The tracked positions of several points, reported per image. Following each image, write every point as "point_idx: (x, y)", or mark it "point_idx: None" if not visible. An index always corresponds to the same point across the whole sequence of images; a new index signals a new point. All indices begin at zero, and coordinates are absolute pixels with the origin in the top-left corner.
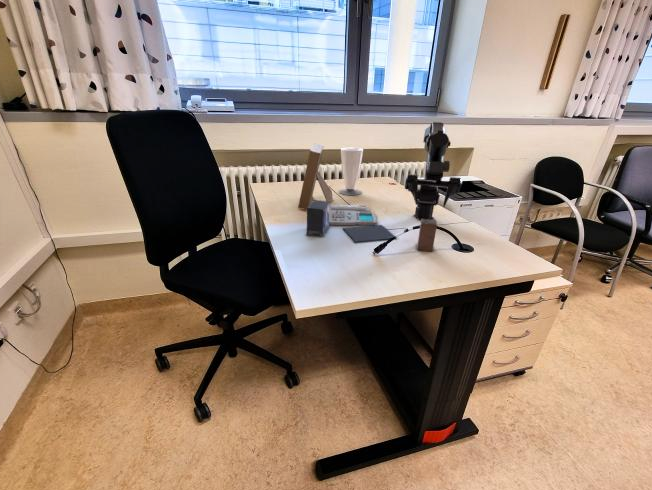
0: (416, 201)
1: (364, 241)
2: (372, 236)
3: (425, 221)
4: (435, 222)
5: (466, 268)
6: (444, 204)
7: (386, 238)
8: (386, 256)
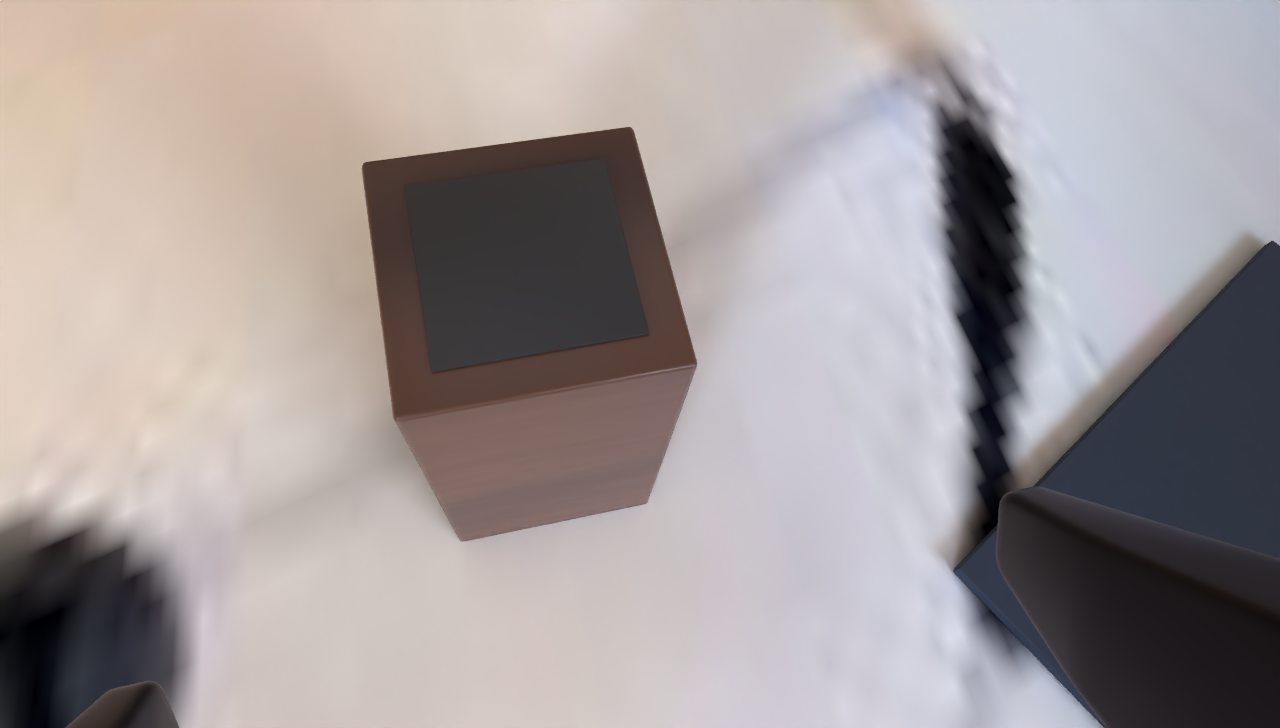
0: (1065, 501)
1: (1206, 307)
2: (1223, 467)
3: (586, 230)
4: (399, 268)
5: (58, 124)
6: (120, 703)
7: (1052, 483)
8: (841, 84)
